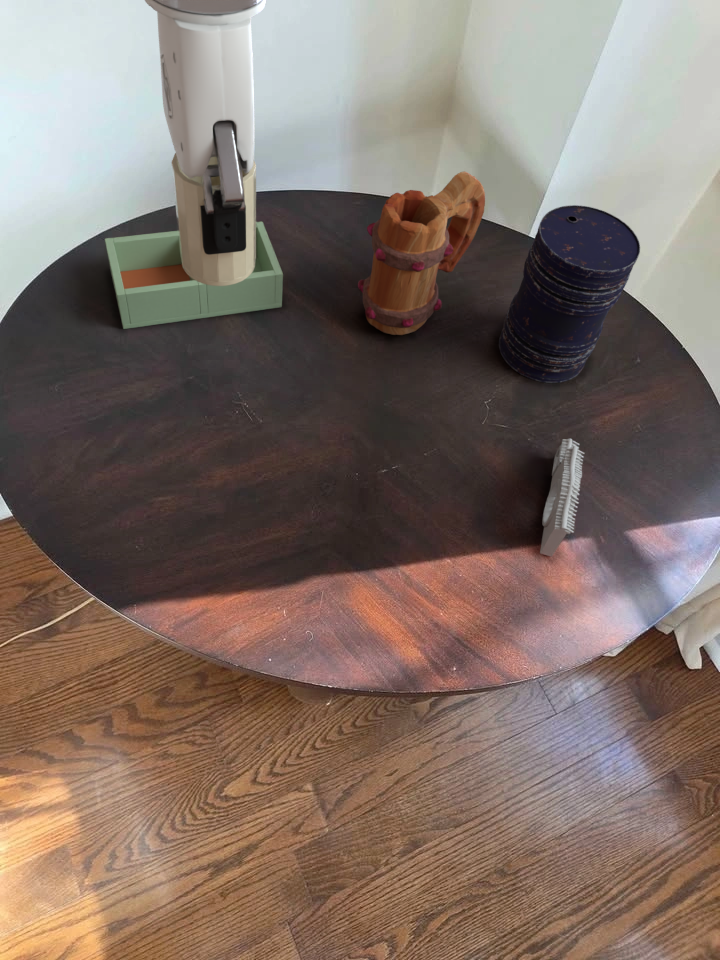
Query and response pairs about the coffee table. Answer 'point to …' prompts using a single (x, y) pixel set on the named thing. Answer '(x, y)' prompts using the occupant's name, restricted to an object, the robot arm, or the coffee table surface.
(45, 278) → the coffee table surface
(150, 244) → the cup holder
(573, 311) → the navy cylinder
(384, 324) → the mug
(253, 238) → the paper cup
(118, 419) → the coffee table surface
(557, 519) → the lattice window wall
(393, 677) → the coffee table surface
